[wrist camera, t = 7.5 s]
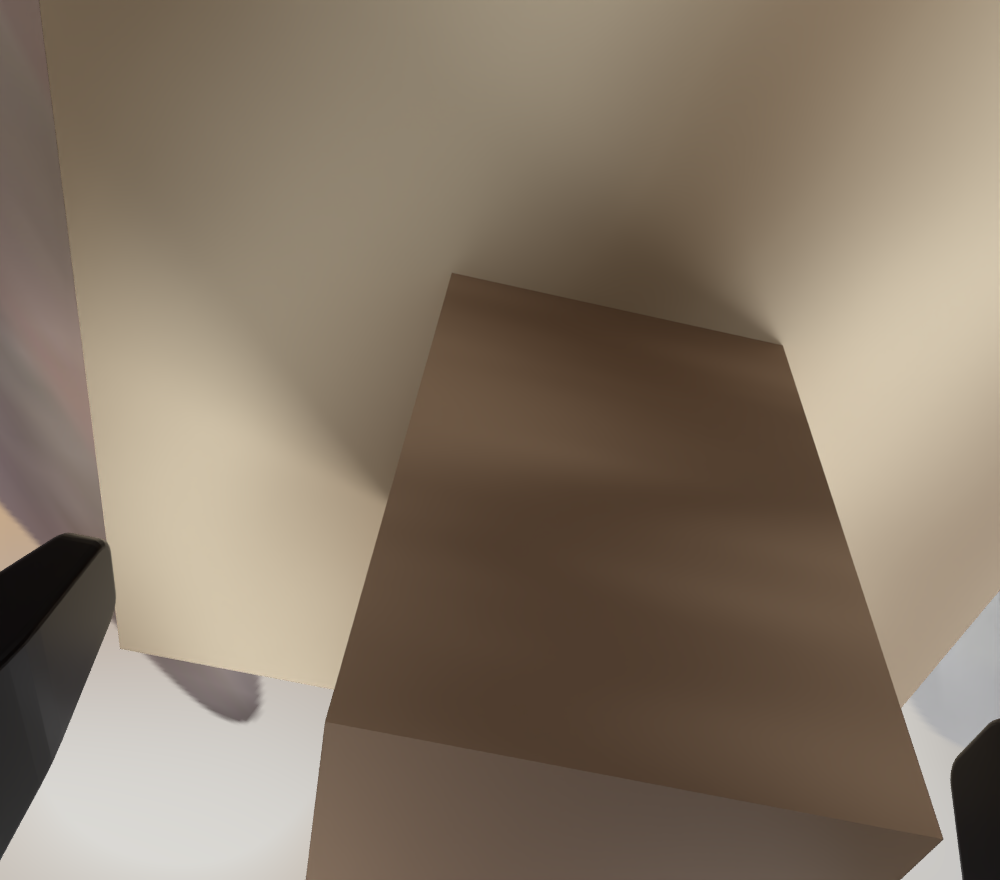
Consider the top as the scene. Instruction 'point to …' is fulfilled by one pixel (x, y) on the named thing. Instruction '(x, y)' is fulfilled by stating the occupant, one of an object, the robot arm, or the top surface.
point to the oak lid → (552, 404)
